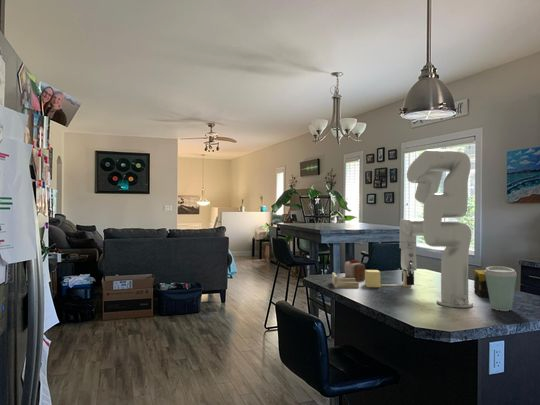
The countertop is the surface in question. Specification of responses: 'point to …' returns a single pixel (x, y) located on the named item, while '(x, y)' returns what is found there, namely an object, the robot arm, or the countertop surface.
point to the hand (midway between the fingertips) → (407, 282)
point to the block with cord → (374, 279)
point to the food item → (355, 270)
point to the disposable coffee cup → (500, 287)
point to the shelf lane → (344, 282)
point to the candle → (480, 284)
